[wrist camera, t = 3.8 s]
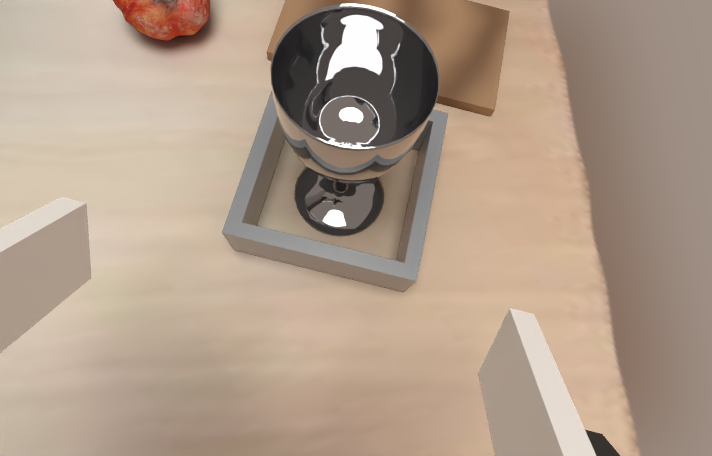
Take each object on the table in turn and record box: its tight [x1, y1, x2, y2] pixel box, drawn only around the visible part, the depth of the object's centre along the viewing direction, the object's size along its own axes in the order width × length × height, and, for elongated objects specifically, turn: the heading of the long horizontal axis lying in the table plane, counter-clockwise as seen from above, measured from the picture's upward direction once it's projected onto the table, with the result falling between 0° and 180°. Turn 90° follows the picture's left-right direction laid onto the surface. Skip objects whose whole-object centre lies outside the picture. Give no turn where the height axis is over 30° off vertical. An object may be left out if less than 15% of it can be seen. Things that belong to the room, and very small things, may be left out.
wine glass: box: [271, 4, 440, 236], centre depth 27 cm, size 8×8×15 cm
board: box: [267, 0, 510, 116], centre depth 39 cm, size 20×11×1 cm, turn 77°
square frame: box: [222, 91, 448, 292], centre depth 32 cm, size 13×13×4 cm
